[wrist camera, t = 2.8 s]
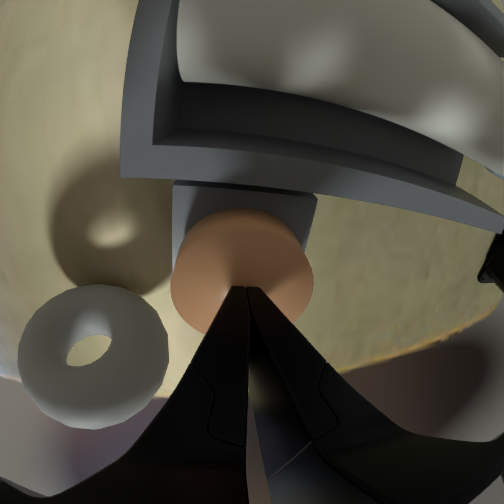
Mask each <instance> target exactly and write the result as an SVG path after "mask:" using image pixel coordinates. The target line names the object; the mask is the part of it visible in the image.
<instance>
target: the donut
mask: <svg viewBox="0 0 504 504" xmlns="http://www.w3.org/2000/svg"><path fill="white" fill-rule="evenodd" d="M92 335H104V336H108V337H110V338H111V339H112V340H111V344H110V346H109V348H108V350H107V351H106V352H105V353H104V354H103V355H102V357H101V358H99V359H98V360H96V361H94V362H93V363H91V364H88V365H84V366H81V367H78V366H69V365H67V356H68V353H69V352H70V350H71V348H72V347H73V346H74V345H75V344H76V343H77V342H79V341H80V340H82V339H84V338H86V337H89V336H92ZM168 363H169V350H168V334H167V332H166V330H165V328H164V326H163V324H162V321H161V319H160V317H159V315H158V313H157V311H156V310H155V309H154V308H153V307H152V306H151V305H149V304H148V303H147V302H146V301H145V300H144V299H143V298H142V297H141V296H140V295H138V294H136V293H133V292H131V291H129V290H127V289H125V288H122V287H118V286H111V285H105V284H95V285H83V286H80V287H76V288H73V289H70V290H66V291H64V292H63V293H61V294H59V295H57V296H55V297H53V298H51V299H50V300H49V301H47V302H46V303H45V304H44V305H43V306H42V307H40V308H39V309H38V310H37V311H36V312H35V314H34V315H33V316H32V318H31V319H30V320H29V322H28V323H27V325H26V327H25V329H24V332H23V334H22V337H21V340H20V343H19V346H18V369H19V373H20V376H21V380H22V383H23V386H24V388H25V391H26V392H27V394H28V395H29V397H30V398H31V399H32V400H33V401H34V403H35V404H36V405H37V406H38V407H39V408H40V409H41V411H42V412H43V413H44V414H46V415H48V416H50V417H52V418H53V419H55V420H57V421H59V422H61V423H63V424H65V425H67V426H69V427H75V428H86V429H100V428H104V427H107V426H111V425H115V424H118V423H121V422H124V421H126V420H127V419H129V418H130V417H132V416H133V415H134V414H136V413H137V412H139V411H140V410H142V409H143V408H144V407H146V405H147V404H148V403H149V401H150V400H151V399H152V397H153V396H154V394H155V393H156V392H157V390H158V389H159V388H160V386H161V385H162V382H163V379H164V376H165V373H166V370H167V366H168Z"/></svg>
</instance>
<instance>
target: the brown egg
mask: <svg viewBox="0 0 504 504" xmlns="http://www.w3.org/2000/svg"><path fill="white" fill-rule="evenodd" d="M313 284H314V282H313V273H312V269H311V266H310V264H309V262H308V260H307V258H306V256H305V253H304V251H303V249H302V247H301V245H300V243H299V241H298V239H297V237H296V235H295V234H294V232H293V231H292V230H291V229H290V227H289V226H288V225H287V224H286V223H284V222H283V221H282V220H281V219H279V218H277V217H276V216H274V215H272V214H270V213H267V212H265V211H261V210H258V209H252V208H231V209H226V210H222V211H218V212H216V213H213V214H211V215H209V216H207V217H205V218H203V219H202V220H200V221H199V222H198V223H196V224H195V225H194V226H193V227H192V228H191V229H190V230H189V231H188V233H187V234H186V235H185V237H184V239H183V240H182V242H181V245H180V247H179V251H178V254H177V258H176V262H175V266H174V270H173V274H172V279H171V297H172V300H173V303H174V306H175V308H176V310H177V311H178V313H179V314H180V316H181V317H182V318H183V319H184V320H185V321H186V322H187V323H188V324H189V325H190V326H191V327H193V328H194V329H196V330H197V331H199V332H201V333H203V334H206V332H207V330H208V328H209V327H210V325H211V323H212V321H213V319H214V317H215V315H216V313H217V312H218V310H219V308H220V306H221V304H222V302H223V300H224V299H225V297H226V295H227V293H228V291H229V289H230V287H231V286H233V285H234V286H244V287H245V288H246V287H247V286H254V287H260V288H261V289H262V290H263V291H264V292H265V294H266V295H267V296H268V297H269V298H270V299H271V300H272V301H273V302H274V304H275V305H276V306H277V307H278V308H279V309H280V310H281V311H282V313H283V314H284V315H285V316H286V317H287V318H288V319H289V320H290V321H291V323H293V322H294V321H295V320H296V319H297V318H298V317H299V316H300V315H301V314H302V312H303V311H304V310H305V308H306V307H307V305H308V303H309V301H310V298H311V295H312V292H313Z"/></svg>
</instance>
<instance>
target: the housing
mask: <svg viewBox="0 0 504 504" xmlns="http://www.w3.org/2000/svg"><path fill="white" fill-rule="evenodd" d="M430 1H432V2H433V3H435V4H436V5H438V6H439V7H441V8H442V9H443V10H445V11H446V12H448V13H449V14H450V15H452V16H453V17H454V18H456V19H457V20H458V21H459V22H461V23H462V24H463V25H464V26H466V27H467V28H468V29H469V30H470V31H472V32H473V33H474V34H475V35H476V36H477V37H479V38H480V39H481V40H482V41H483V42H484V43H485V44H486V45H487V46H488V47H489V48H490V49H491V50H492V51H493V52H494V53H495V54H496V55H497V56H498V57H503V58H504V14H503V13H502V12H501V11H500V10H499V9H498V8H497V6H496V5H495V4H494V3H493V2H492V1H491V0H430ZM179 2H180V0H139V2H138V6H137V10H136V15H135V19H134V24H133V28H132V34H131V39H130V44H129V50H128V57H127V64H126V71H125V80H124V89H123V100H122V114H121V134H120V178H153V179H176V180H175V182H174V184H173V193H172V268H173V270H174V266H175V262H176V258H177V254H178V251H179V247H180V245H181V242H182V240H183V239H184V237H185V235H186V234H187V233H188V231H189V230H190V229H191V228H192V227H193V226H194V225H195V224H196V223H198V222H199V221H200V220H202V219H203V218H205V217H207V216H209V215H211V214H213V213H216V212H218V211H222V210H226V209H231V208H252V209H258V210H261V211H265V212H267V213H270V214H272V215H274V216H276V217H277V218H279V219H281V220H282V221H283V222H284V223H286V224H287V225H288V226H289V227H290V229H291V230H292V231H293V232H294V234H295V235H296V237H297V239H298V241H299V243H300V245H301V247H302V249H303V251H304V252H305V248H306V244H307V240H308V237H309V233H310V229H311V225H312V221H313V217H314V213H315V209H316V205H317V201H318V199H317V198H316V196H315V195H314V194H313V193H317V194H323V195H330V196H336V197H342V198H348V199H354V200H360V201H365V202H371V203H376V204H381V205H386V206H391V207H396V208H401V209H406V210H410V211H415V212H419V213H424V214H428V215H432V216H436V217H440V218H444V219H448V220H452V221H456V222H460V223H464V224H467V225H471V226H475V227H478V228H482V229H485V230H488V231H492V232H495V233H498V234H502V231H503V229H504V216H503V215H502V214H500V213H499V212H497V211H496V210H494V209H493V208H491V207H490V206H488V205H487V204H485V203H484V202H482V201H481V200H479V199H477V198H476V197H474V196H473V195H471V194H469V193H468V192H466V191H464V190H463V189H461V188H459V187H457V186H456V182H457V178H458V175H459V171H460V167H461V164H462V160H463V156H464V154H462V153H460V152H458V151H456V150H454V149H452V148H450V147H448V146H446V145H444V144H442V143H440V142H438V141H436V140H434V139H432V138H430V137H427V136H425V135H423V134H421V133H418V132H416V131H414V130H411V129H409V128H406V127H404V126H401V125H399V124H396V123H394V122H391V121H388V120H385V119H383V118H380V117H377V116H374V115H371V114H368V113H365V112H362V111H359V110H355V109H352V108H349V107H345V106H342V105H338V104H334V103H331V102H327V101H323V100H319V99H314V98H310V97H306V96H301V95H296V94H291V93H286V92H280V91H275V90H268V89H262V88H255V87H247V86H239V85H229V84H217V83H202V82H184V81H183V80H182V78H181V75H180V72H179V67H178V58H177V20H178V9H179Z"/></svg>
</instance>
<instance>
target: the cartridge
mask: <svg viewBox="0 0 504 504" xmlns="http://www.w3.org/2000/svg"><path fill="white" fill-rule="evenodd" d="M177 58H178V67H179V72H180V75H181V78H182V80H183V81H184V82H202V83H217V84H229V85H239V86H247V87H255V88H262V89H268V90H275V91H280V92H286V93H291V94H296V95H301V96H306V97H310V98H314V99H319V100H323V101H327V102H331V103H334V104H338V105H342V106H345V107H349V108H352V109H355V110H359V111H362V112H365V113H368V114H371V115H374V116H377V117H380V118H383V119H385V120H388V121H391V122H394V123H396V124H399V125H401V126H404V127H406V128H409V129H411V130H414V131H416V132H418V133H421V134H423V135H425V136H427V137H430V138H432V139H434V140H436V141H438V142H440V143H442V144H444V145H446V146H448V147H450V148H452V149H454V150H456V151H458V152H460V153H462V154H464V155H466V156H467V157H469V158H471V159H473V160H474V161H476V162H478V163H480V164H481V165H483V166H485V168H486V169H488V170H489V171H490V172H491V173H493V174H495V175H496V176H498V177H499V178H502V179H504V62H503V61H502V60H501V59H500V58H499V57H498V56H497V55H496V54H495V53H494V52H493V51H492V50H491V49H490V48H489V47H488V46H487V45H486V44H485V43H484V42H483V41H482V40H481V39H480V38H479V37H477V36H476V35H475V34H474V33H473V32H472V31H470V30H469V29H468V28H467V27H466V26H464V25H463V24H462V23H461V22H459V21H458V20H457V19H456V18H454V17H453V16H452V15H450V14H449V13H448V12H446V11H445V10H443V9H442V8H441V7H439V6H438V5H436V4H435V3H433V2H432V1H430V0H180V2H179V9H178V20H177Z"/></svg>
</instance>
